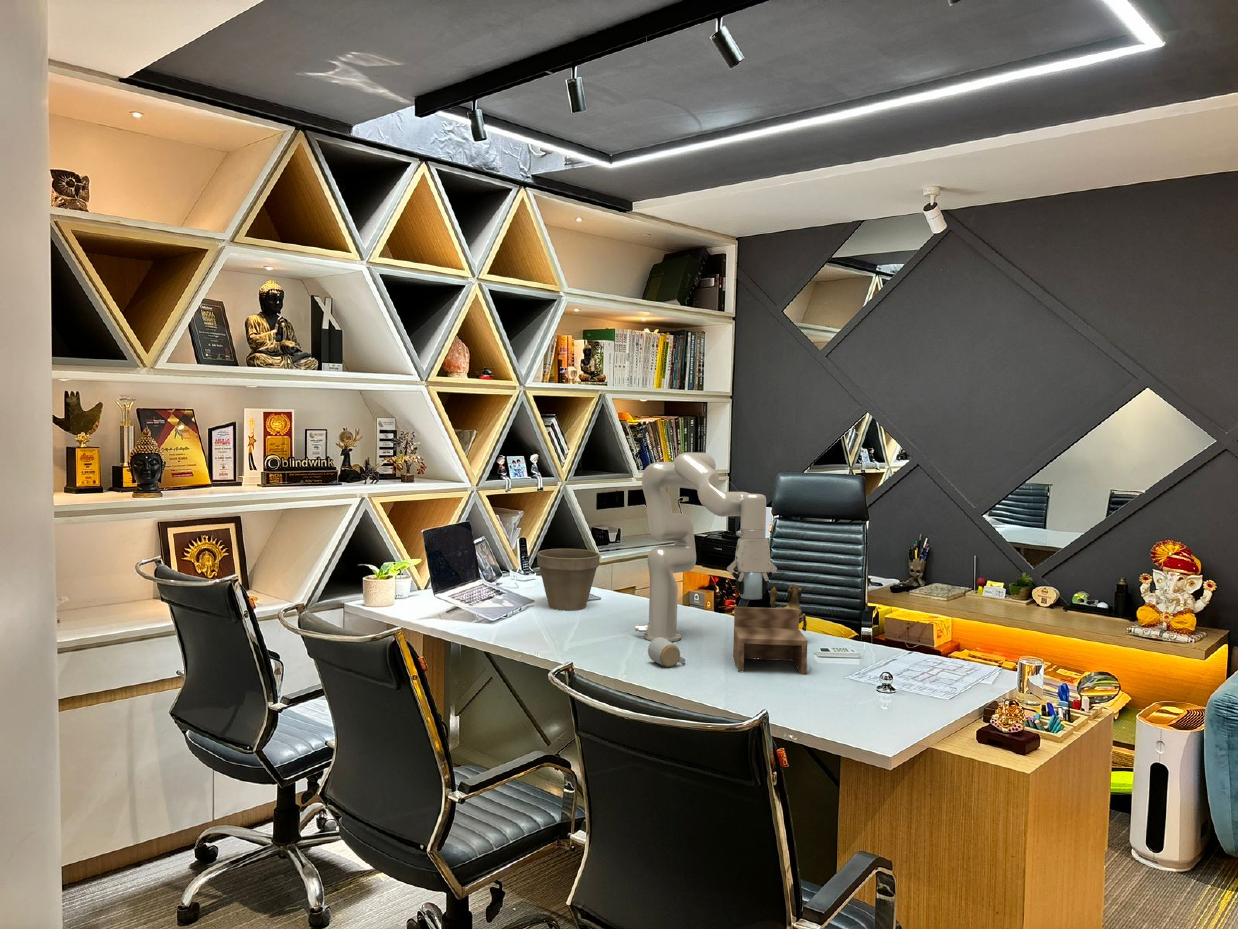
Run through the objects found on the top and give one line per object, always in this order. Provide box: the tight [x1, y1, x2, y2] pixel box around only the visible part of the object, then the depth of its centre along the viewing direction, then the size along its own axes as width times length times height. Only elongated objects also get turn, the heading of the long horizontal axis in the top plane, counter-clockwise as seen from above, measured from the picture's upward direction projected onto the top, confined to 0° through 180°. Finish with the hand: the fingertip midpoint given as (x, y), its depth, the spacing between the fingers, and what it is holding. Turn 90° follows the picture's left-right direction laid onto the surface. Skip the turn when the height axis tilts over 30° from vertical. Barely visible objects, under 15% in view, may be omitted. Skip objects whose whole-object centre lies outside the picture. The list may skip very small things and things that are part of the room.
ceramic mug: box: [647, 637, 686, 668], centre depth 275 cm, size 11×8×8 cm
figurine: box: [769, 583, 808, 632], centre depth 305 cm, size 13×25×20 cm, turn 134°
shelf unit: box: [732, 606, 808, 675], centre depth 276 cm, size 20×17×16 cm
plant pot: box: [536, 548, 601, 612], centre depth 358 cm, size 25×25×22 cm
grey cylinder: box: [740, 572, 763, 600], centre depth 275 cm, size 6×6×8 cm
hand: (751, 593), depth 275 cm, fingers closed on grey cylinder, 6 cm apart
